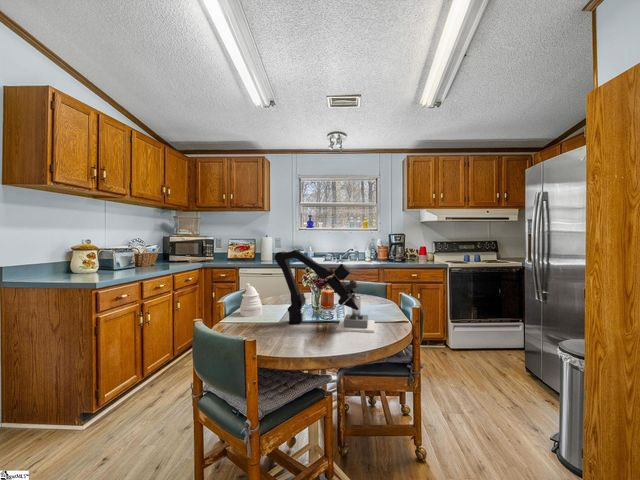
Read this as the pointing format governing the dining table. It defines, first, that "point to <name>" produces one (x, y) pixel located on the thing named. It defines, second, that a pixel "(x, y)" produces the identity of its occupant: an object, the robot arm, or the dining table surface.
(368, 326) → the mount
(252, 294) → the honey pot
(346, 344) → the dining table surface
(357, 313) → the grey cylindrical piece
